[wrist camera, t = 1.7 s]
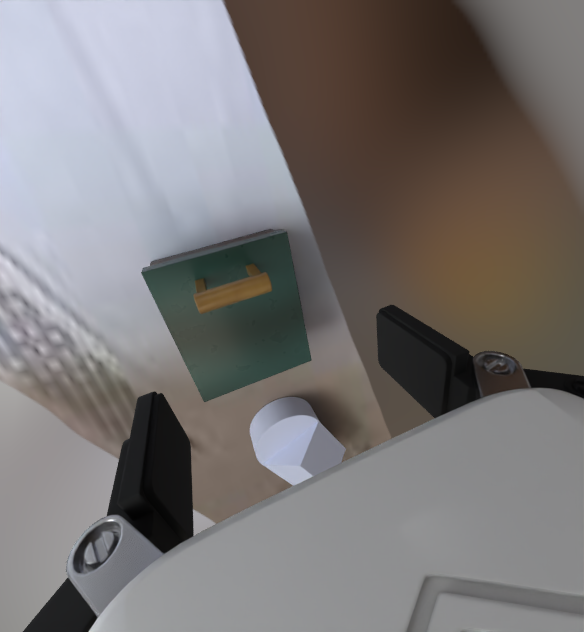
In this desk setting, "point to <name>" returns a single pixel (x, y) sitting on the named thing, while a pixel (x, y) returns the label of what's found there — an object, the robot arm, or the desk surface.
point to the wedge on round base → (293, 440)
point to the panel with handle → (233, 312)
